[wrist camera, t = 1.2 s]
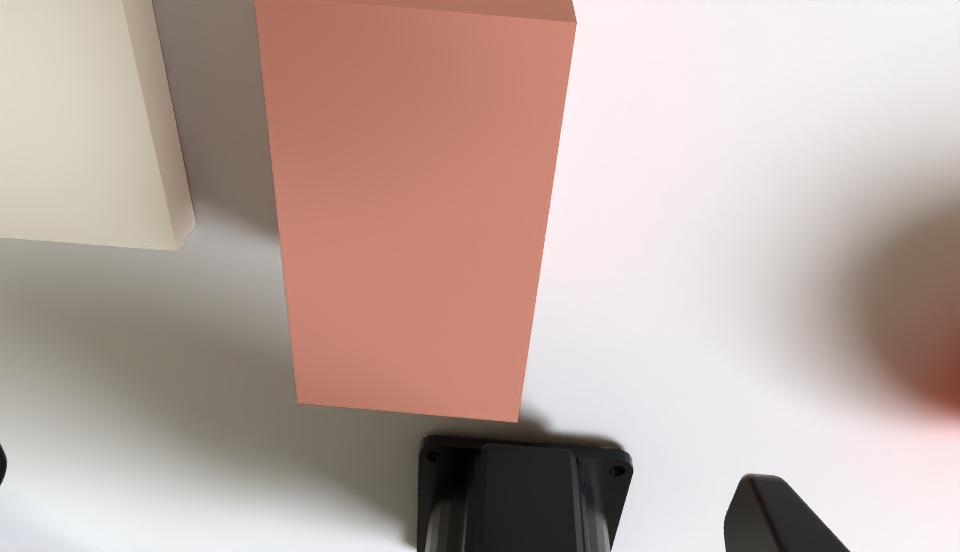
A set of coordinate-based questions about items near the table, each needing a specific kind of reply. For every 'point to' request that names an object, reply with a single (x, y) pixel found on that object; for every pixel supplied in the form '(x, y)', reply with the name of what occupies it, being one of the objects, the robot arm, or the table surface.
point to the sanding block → (413, 193)
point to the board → (88, 127)
